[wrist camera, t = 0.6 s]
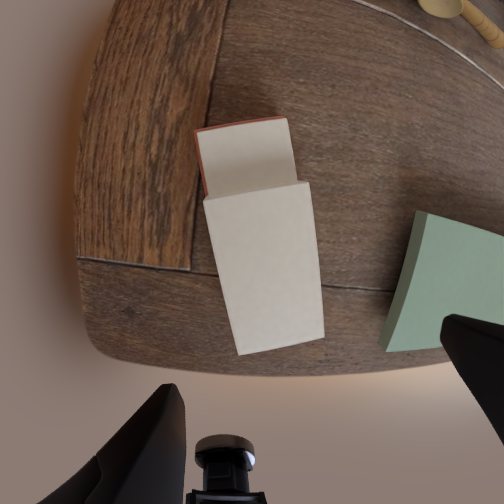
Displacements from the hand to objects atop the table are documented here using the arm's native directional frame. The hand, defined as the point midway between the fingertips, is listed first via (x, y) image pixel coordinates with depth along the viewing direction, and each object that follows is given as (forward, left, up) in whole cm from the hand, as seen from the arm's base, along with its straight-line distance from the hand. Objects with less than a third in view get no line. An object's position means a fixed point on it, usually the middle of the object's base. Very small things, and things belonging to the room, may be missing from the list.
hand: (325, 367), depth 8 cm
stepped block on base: (+2, +1, -12) cm, 12 cm away
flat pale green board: (-9, -26, -12) cm, 31 cm away
